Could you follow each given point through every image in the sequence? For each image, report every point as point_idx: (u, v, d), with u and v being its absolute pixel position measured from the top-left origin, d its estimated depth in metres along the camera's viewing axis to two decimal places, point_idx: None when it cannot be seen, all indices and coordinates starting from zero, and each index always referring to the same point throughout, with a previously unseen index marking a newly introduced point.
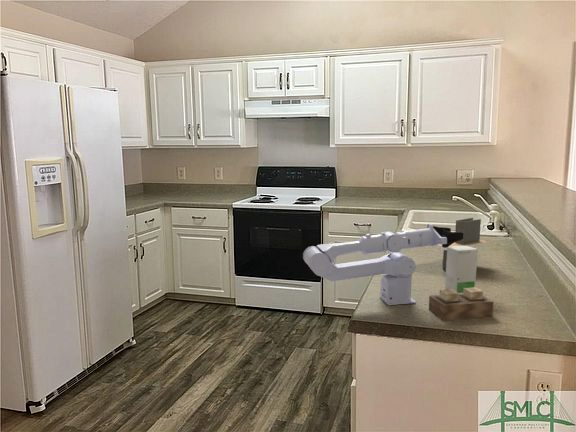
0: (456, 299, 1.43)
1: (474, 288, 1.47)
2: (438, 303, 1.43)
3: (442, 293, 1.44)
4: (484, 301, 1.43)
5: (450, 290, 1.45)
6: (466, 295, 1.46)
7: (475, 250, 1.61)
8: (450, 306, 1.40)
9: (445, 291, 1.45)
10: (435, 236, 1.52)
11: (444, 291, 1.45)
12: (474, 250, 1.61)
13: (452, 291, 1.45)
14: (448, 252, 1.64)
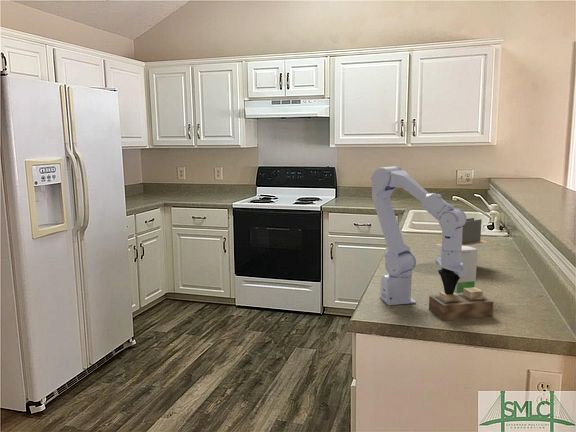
0: None
1: (474, 288, 1.47)
2: (438, 303, 1.43)
3: (442, 295, 1.45)
4: (484, 301, 1.43)
5: None
6: (466, 295, 1.46)
7: (475, 250, 1.61)
8: (450, 306, 1.40)
9: (445, 293, 1.45)
10: (458, 267, 1.40)
11: (444, 293, 1.45)
12: (474, 250, 1.61)
13: None
14: None
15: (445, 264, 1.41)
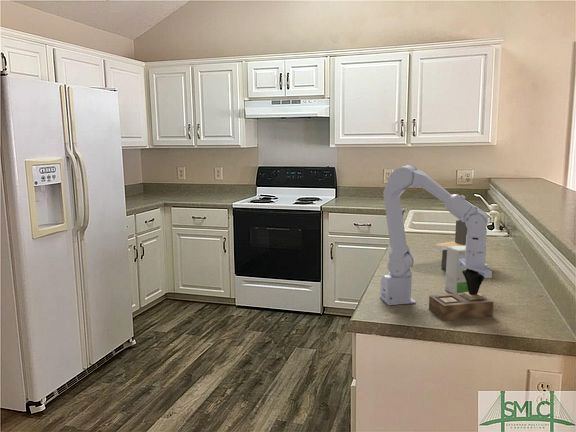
0: None
1: None
2: (438, 303, 1.43)
3: None
4: (484, 301, 1.43)
5: (450, 298, 1.46)
6: None
7: None
8: (450, 306, 1.40)
9: (445, 299, 1.45)
10: None
11: (444, 299, 1.45)
12: None
13: (452, 299, 1.45)
14: (448, 252, 1.64)
15: (470, 265, 1.43)
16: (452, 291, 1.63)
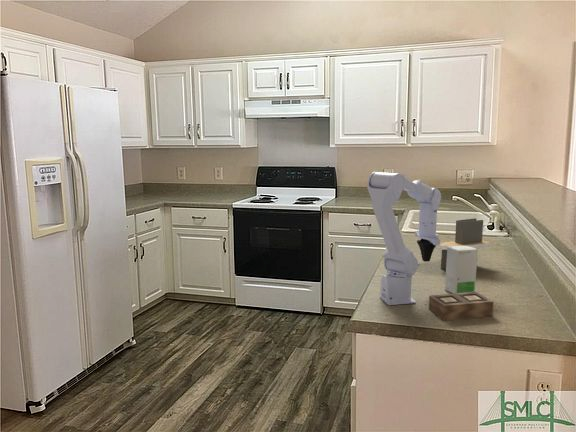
0: None
1: (473, 296, 1.48)
2: (438, 303, 1.43)
3: None
4: (484, 301, 1.43)
5: (450, 298, 1.46)
6: None
7: (475, 250, 1.61)
8: (450, 306, 1.40)
9: (445, 299, 1.45)
10: (433, 237, 1.61)
11: (444, 299, 1.45)
12: (474, 250, 1.61)
13: (452, 299, 1.45)
14: (448, 252, 1.64)
15: (422, 235, 1.62)
16: (452, 291, 1.63)
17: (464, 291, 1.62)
